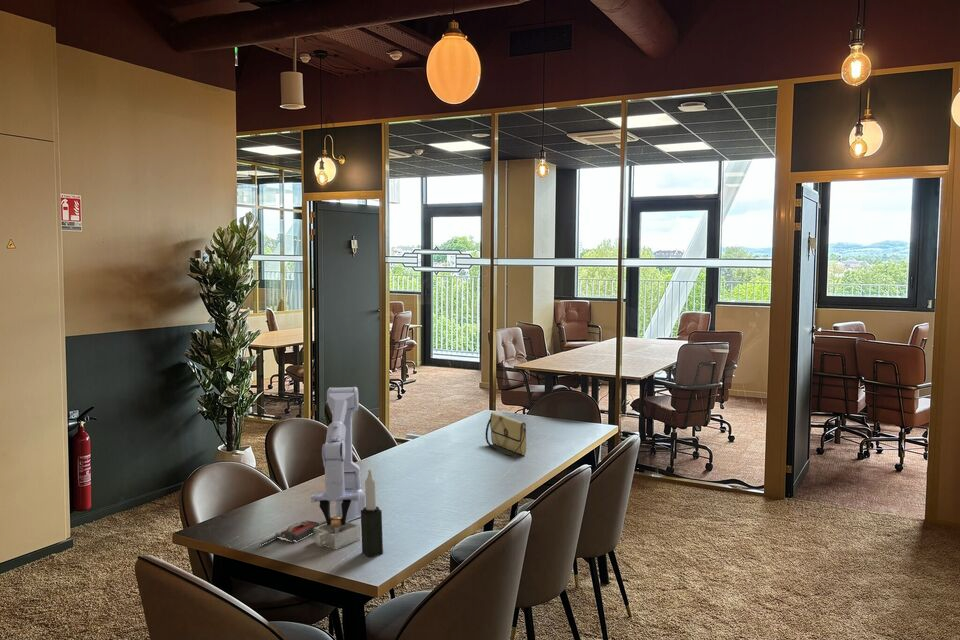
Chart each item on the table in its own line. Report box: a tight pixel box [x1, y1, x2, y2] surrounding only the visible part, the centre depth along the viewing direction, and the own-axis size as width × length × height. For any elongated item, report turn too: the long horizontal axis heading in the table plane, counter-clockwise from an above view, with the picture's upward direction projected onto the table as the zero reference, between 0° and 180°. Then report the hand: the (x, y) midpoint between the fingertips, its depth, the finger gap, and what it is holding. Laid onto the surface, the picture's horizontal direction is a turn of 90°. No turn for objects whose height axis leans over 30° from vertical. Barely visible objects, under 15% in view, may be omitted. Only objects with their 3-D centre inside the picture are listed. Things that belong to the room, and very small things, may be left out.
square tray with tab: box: [312, 521, 361, 550], centre depth 226 cm, size 12×10×4 cm
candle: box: [360, 469, 384, 558], centre depth 216 cm, size 5×5×25 cm
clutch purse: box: [485, 412, 527, 456], centre depth 331 cm, size 30×7×15 cm, turn 29°
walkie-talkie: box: [259, 520, 319, 545], centre depth 230 cm, size 9×4×20 cm
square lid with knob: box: [330, 515, 342, 534], centre depth 227 cm, size 8×8×7 cm
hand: (336, 524), depth 227 cm, fingers closed on square lid with knob, 4 cm apart
